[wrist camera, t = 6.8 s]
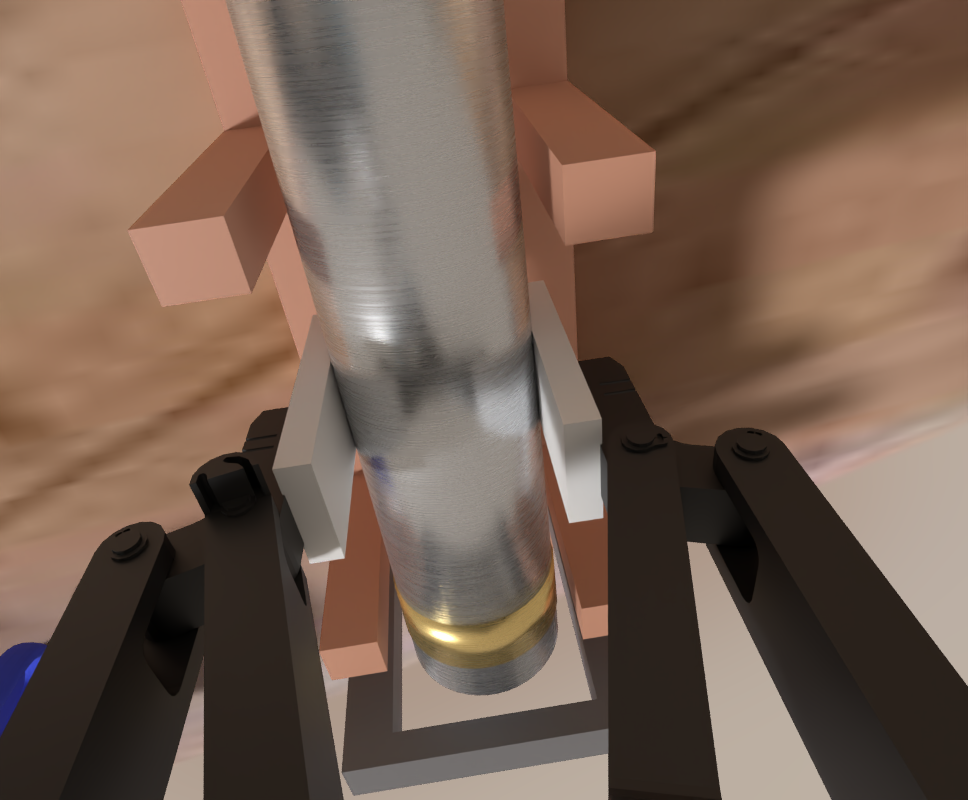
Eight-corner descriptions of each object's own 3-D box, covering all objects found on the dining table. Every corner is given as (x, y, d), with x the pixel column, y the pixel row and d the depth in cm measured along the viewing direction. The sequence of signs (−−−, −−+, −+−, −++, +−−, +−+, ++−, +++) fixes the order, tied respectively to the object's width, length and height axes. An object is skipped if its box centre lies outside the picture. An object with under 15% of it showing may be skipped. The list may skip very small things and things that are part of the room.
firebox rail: (166, -93, 17) (-135, -147, 7) (547, -147, 17) (728, -266, 7) (374, 552, 31) (361, 811, 22) (577, 520, 31) (651, 763, 22)
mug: (136, 586, 31) (41, 814, 23) (167, 722, 38) (102, 936, 29) (-56, 583, 29) (-231, 825, 21) (11, 725, 36) (-102, 950, 28)
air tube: (192, -60, 13) (213, -95, 9) (435, -89, 14) (551, -129, 10) (394, 604, 24) (444, 725, 20) (517, 551, 25) (587, 653, 21)
